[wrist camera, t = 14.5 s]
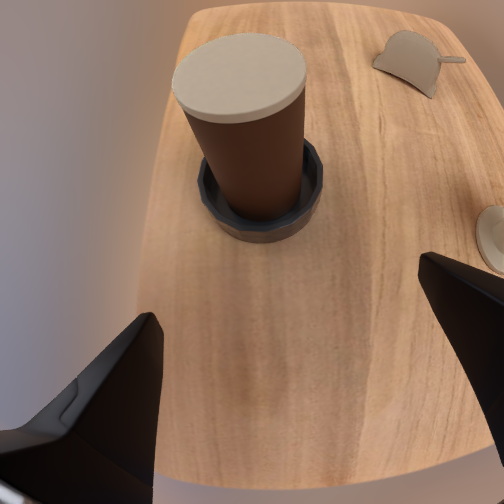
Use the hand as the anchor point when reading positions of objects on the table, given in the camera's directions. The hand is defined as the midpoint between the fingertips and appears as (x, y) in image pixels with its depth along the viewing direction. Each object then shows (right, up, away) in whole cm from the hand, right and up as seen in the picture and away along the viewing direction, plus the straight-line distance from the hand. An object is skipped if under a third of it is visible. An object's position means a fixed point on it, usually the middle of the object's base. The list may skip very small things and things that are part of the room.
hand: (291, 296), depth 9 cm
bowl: (0, +6, +12) cm, 14 cm away
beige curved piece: (+15, +19, +14) cm, 28 cm away
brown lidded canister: (-1, +6, +12) cm, 13 cm away
